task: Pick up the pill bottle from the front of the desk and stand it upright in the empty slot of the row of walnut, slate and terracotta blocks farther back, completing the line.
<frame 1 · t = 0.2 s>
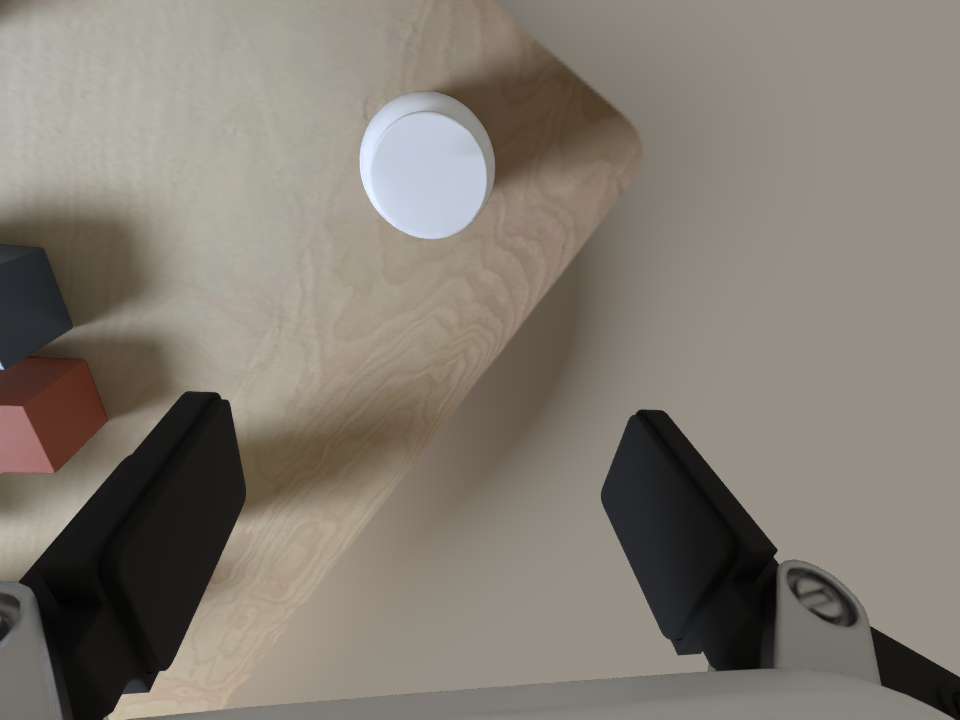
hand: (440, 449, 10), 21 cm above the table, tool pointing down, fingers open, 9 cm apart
block c: (54, 390, 31), on the table
block b: (9, 286, 27), on the table
pill bottle: (426, 155, 26), on the table
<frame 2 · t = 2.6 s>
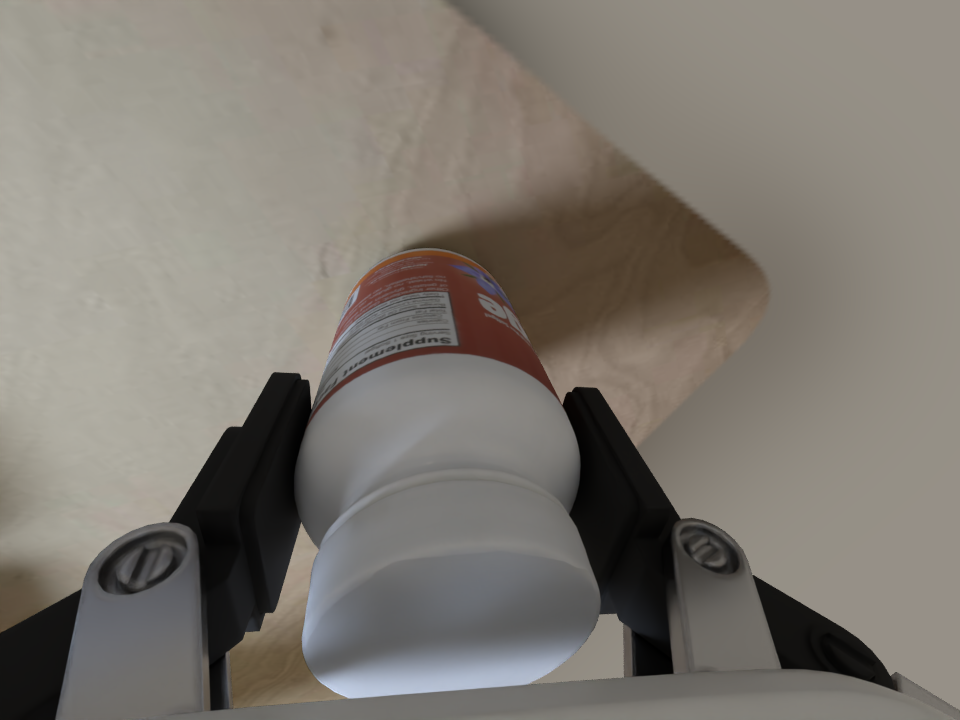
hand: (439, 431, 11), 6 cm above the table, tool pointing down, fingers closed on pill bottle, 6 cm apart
pill bottle: (427, 321, 16), on the table, touching gripper
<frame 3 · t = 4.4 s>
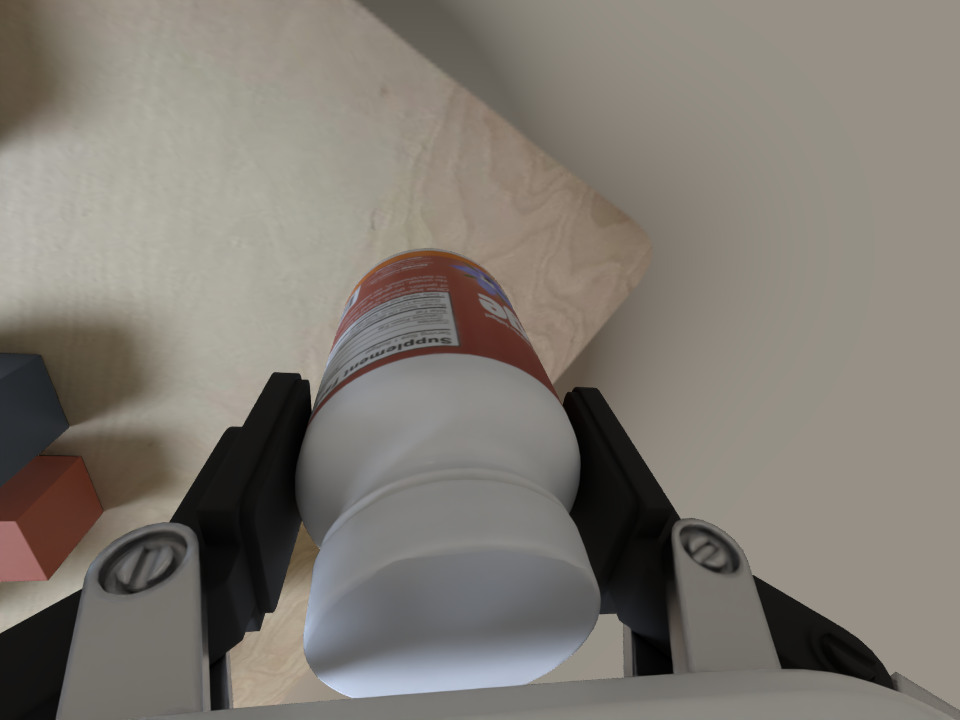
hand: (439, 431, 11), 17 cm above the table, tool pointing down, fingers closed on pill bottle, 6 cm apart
block c: (48, 484, 30), on the table
block b: (4, 390, 26), on the table
pill bottle: (428, 321, 16), point 11 cm above the table, touching gripper
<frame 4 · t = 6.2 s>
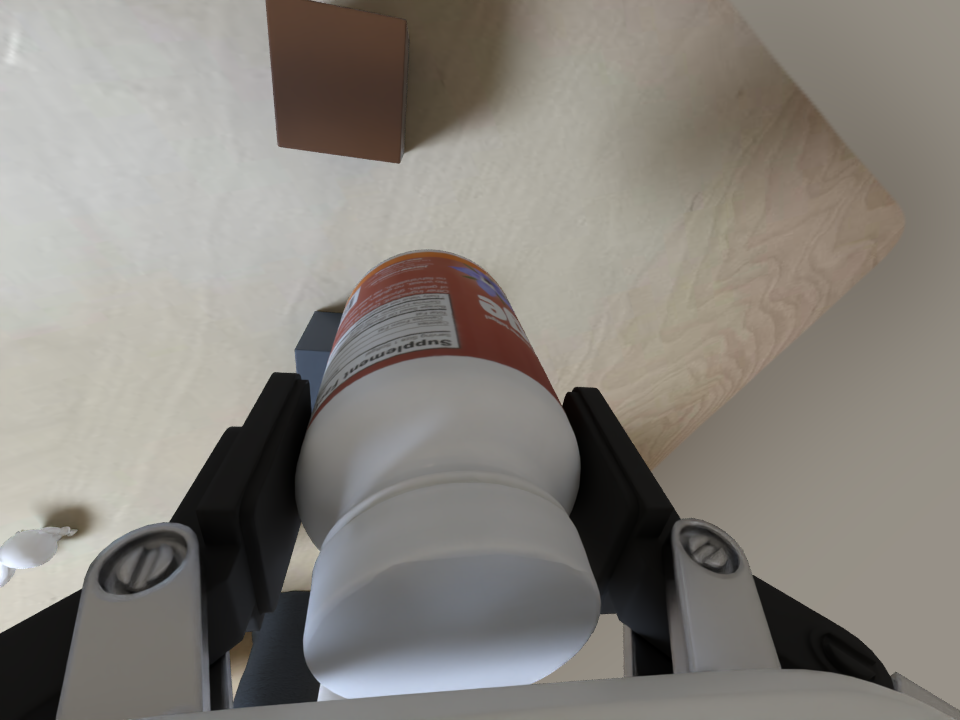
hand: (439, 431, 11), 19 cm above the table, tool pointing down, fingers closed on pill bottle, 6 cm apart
block a: (355, 91, 23), on the table
rabbit figurine: (29, 532, 36), on the table
block b: (356, 348, 31), on the table
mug: (291, 620, 47), on the table
pill bottle: (428, 322, 16), point 13 cm above the table, touching gripper
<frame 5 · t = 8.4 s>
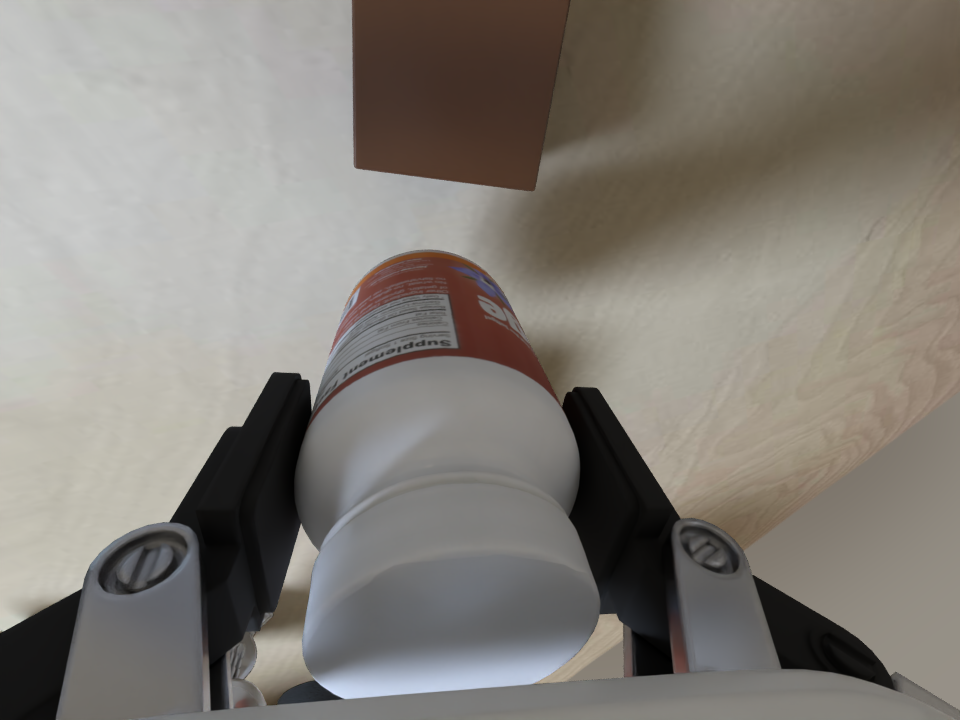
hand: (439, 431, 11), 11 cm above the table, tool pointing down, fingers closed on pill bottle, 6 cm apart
block a: (446, 83, 16), on the table
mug: (321, 707, 40), on the table
pill bottle: (427, 323, 16), point 5 cm above the table, touching gripper
robot toy: (238, 605, 31), on the table
when the fingers open (6 cm above the table, at t = 10.0 s): pill bottle stays where it is, on the table.
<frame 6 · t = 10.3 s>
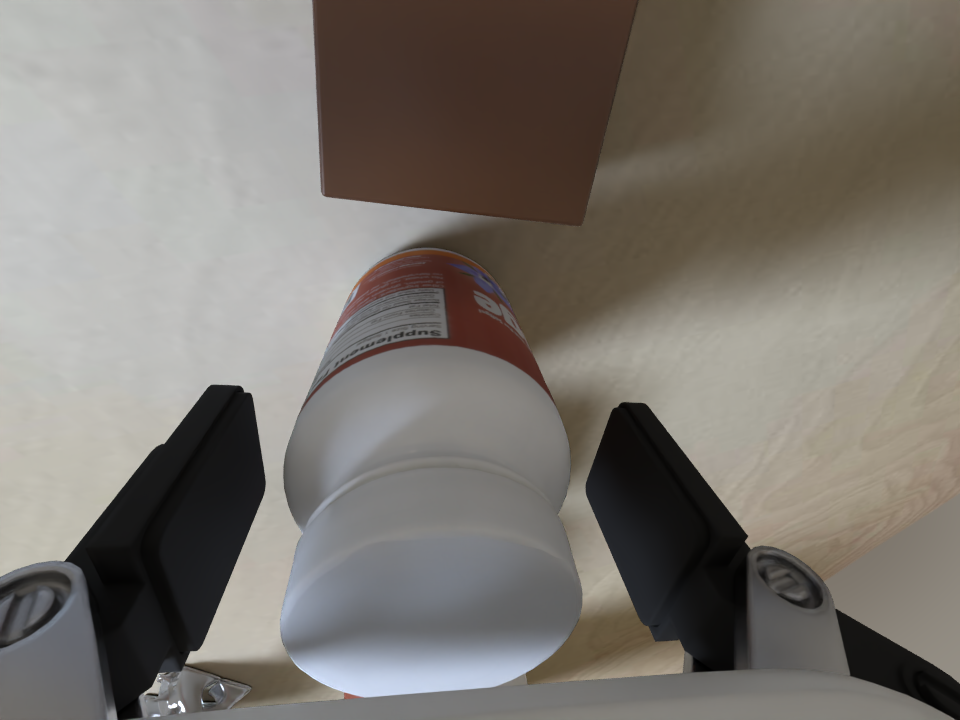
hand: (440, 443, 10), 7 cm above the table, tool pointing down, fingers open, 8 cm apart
block a: (454, 75, 12), on the table
pill bottle: (428, 321, 16), on the table
robot toy: (210, 680, 27), on the table
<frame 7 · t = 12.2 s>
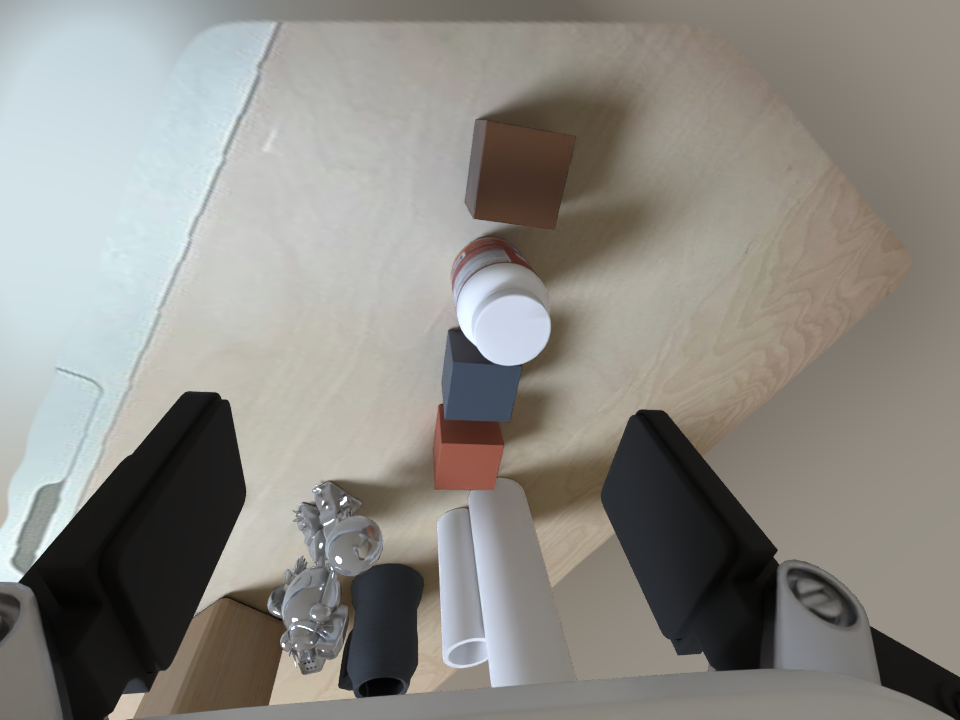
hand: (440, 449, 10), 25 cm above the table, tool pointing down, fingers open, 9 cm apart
vase: (483, 510, 49), on the table
block c: (463, 428, 42), on the table
block a: (506, 168, 31), on the table
wooden block: (234, 623, 54), on the table
block b: (474, 359, 38), on the table
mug: (381, 590, 54), on the table
pill bottle: (487, 272, 35), on the table
robot toy: (339, 496, 45), on the table
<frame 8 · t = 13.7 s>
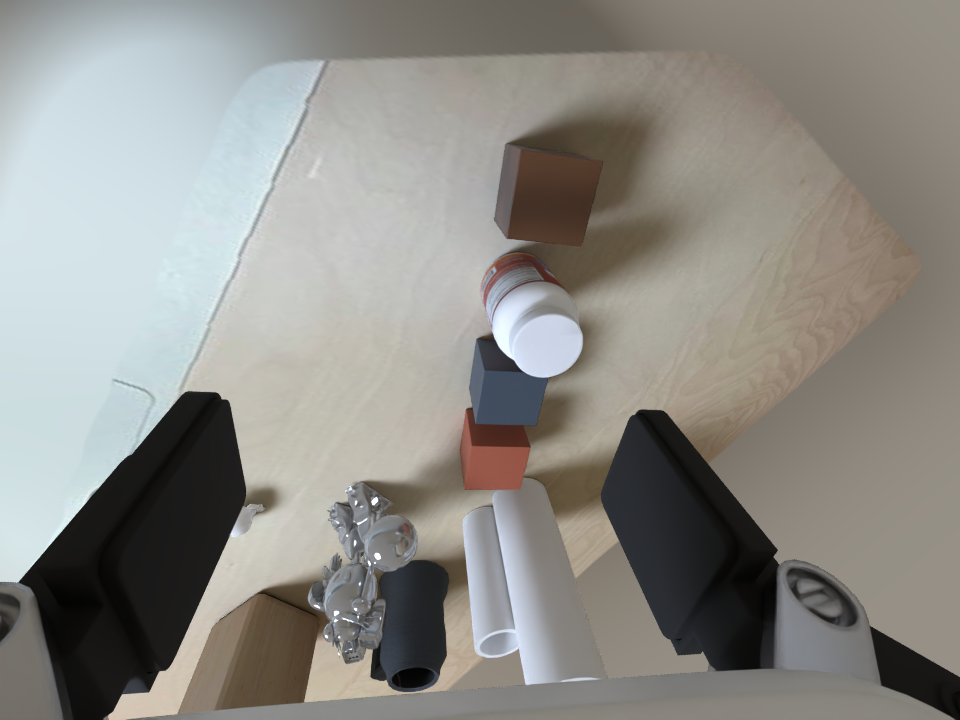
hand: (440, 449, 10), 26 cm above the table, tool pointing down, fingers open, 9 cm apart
vase: (506, 508, 51), on the table
block c: (488, 431, 44), on the table
block a: (534, 188, 33), on the table
rabbit figurine: (227, 509, 46), on the table
wooden block: (268, 617, 56), on the table
block b: (501, 365, 40), on the table
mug: (408, 586, 56), on the table
pill bottle: (513, 284, 37), on the table
robot toy: (370, 496, 47), on the table
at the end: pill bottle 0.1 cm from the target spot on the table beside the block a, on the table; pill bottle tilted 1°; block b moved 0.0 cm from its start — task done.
